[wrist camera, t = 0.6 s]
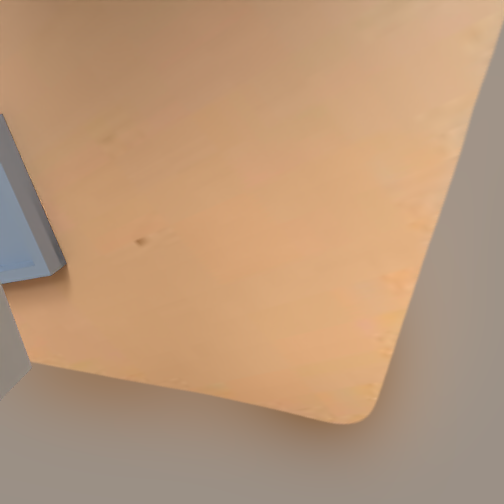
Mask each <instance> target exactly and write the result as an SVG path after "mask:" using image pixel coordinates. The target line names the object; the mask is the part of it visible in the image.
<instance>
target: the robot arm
mask: <svg viewBox="0 0 504 504" xmlns="http://www.w3.org/2000/svg"><path fill="white" fill-rule="evenodd" d="M31 368H32V366H31V363H30V360H29V358H28V355H27V352H26V349H25V347H24V344H23V341H22V339H21V336H20V333H19V330H18V328H17V325H16V322H15V320H14V317H13V314H12V312H11V309H10V306H9V303H8V301H7V298H6V295H5V293H4V290H3V287H2V284H1V282H0V401H1V399H3V398H4V396H5V395H6V394H7V393H8V392H9V391H10V390H11V389H12V388H13V387H14V386H15V385H16V384H17V383H18V382H19V381H20V380H21V379H22V378H23V377H24V376H25V375H26V374H27V373H28V371H29V370H30V369H31Z"/></svg>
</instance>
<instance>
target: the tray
mask: <svg viewBox="0 0 504 504" xmlns="http://www.w3.org/2000/svg"><path fill="white" fill-rule="evenodd" d="M66 264H67V263H66V261H65V259H64V256H63V254H62V252H61V249H60V247H59V245H58V242H57V240H56V238H55V235H54V233H53V231H52V228H51V226H50V224H49V221H48V219H47V217H46V214H45V212H44V210H43V207H42V205H41V203H40V200H39V198H38V196H37V194H36V191H35V189H34V187H33V184H32V182H31V180H30V177H29V175H28V173H27V170H26V168H25V166H24V163H23V161H22V159H21V156H20V154H19V152H18V149H17V147H16V145H15V142H14V140H13V138H12V135H11V133H10V131H9V128H8V126H7V124H6V122H5V119H4V117H3V115H2V114H0V282H1V284H4V283H10V282H16V281H22V280H27V279H33V278H39V277H45V276H51V275H53V274H54V273H55V272H56V271H58V270H59V269H60V268H62V267H63V266H64V265H66Z"/></svg>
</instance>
